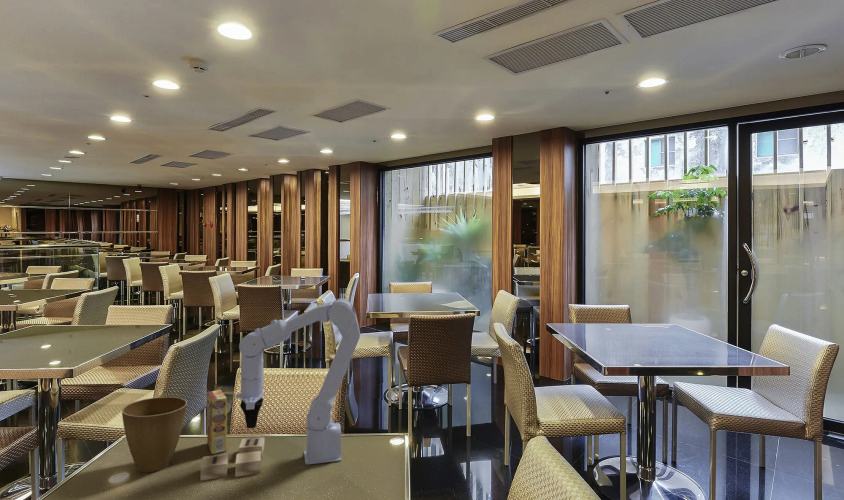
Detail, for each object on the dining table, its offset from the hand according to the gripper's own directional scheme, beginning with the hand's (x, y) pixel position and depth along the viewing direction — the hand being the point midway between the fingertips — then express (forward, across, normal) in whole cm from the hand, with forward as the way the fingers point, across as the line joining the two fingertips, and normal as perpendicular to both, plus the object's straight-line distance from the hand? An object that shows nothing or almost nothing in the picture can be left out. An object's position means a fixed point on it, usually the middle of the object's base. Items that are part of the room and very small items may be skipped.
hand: (251, 427), depth 127 cm
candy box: (+9, -11, -10) cm, 17 cm away
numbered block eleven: (+9, -4, 0) cm, 10 cm away
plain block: (+9, +6, 0) cm, 11 cm away
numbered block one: (+9, +5, -8) cm, 13 cm away
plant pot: (+9, -3, -24) cm, 26 cm away
